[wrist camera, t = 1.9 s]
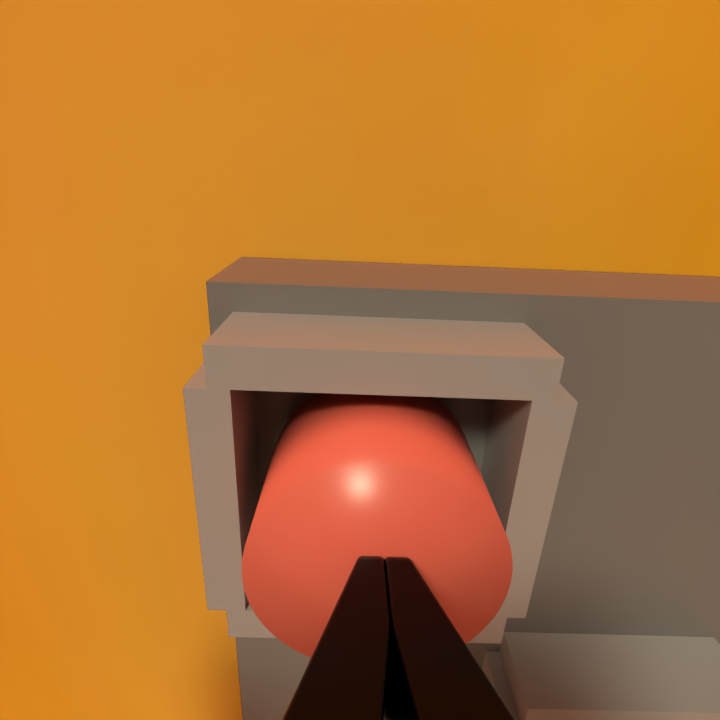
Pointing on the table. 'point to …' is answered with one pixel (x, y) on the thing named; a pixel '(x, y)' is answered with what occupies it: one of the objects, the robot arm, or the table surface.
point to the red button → (372, 514)
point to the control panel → (498, 459)
